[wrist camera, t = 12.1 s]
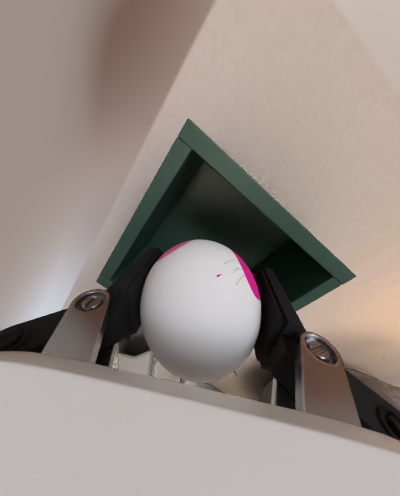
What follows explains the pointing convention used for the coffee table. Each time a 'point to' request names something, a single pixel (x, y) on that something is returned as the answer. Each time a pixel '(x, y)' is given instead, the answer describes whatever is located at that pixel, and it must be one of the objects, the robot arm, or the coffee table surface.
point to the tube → (135, 354)
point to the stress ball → (200, 311)
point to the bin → (224, 221)
